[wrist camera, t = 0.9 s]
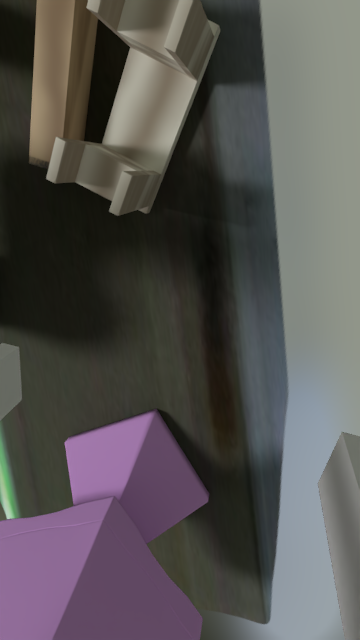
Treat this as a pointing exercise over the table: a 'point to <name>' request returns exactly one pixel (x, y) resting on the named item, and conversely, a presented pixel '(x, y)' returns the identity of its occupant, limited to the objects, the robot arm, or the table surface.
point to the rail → (60, 75)
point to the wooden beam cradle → (141, 101)
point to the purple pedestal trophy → (104, 543)
